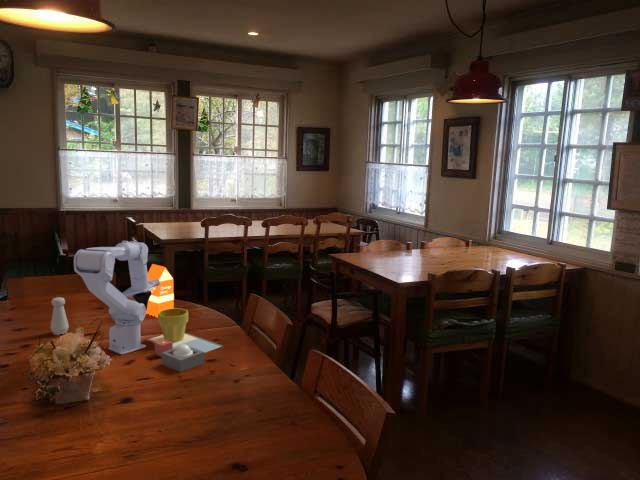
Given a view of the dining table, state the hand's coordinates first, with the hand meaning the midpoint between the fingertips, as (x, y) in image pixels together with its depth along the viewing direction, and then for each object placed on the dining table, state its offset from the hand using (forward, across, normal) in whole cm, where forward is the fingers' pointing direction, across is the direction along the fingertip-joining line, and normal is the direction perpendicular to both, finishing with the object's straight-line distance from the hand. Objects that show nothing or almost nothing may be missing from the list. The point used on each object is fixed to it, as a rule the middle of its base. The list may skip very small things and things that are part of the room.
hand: (143, 310), depth 188 cm
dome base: (+6, -7, -30) cm, 31 cm away
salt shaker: (+9, -19, +24) cm, 32 cm away
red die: (+7, -7, -19) cm, 21 cm away
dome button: (+4, -7, -30) cm, 31 cm away
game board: (+9, +4, -16) cm, 19 cm away
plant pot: (+10, +4, -10) cm, 15 cm away
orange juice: (+16, +18, +18) cm, 30 cm away
